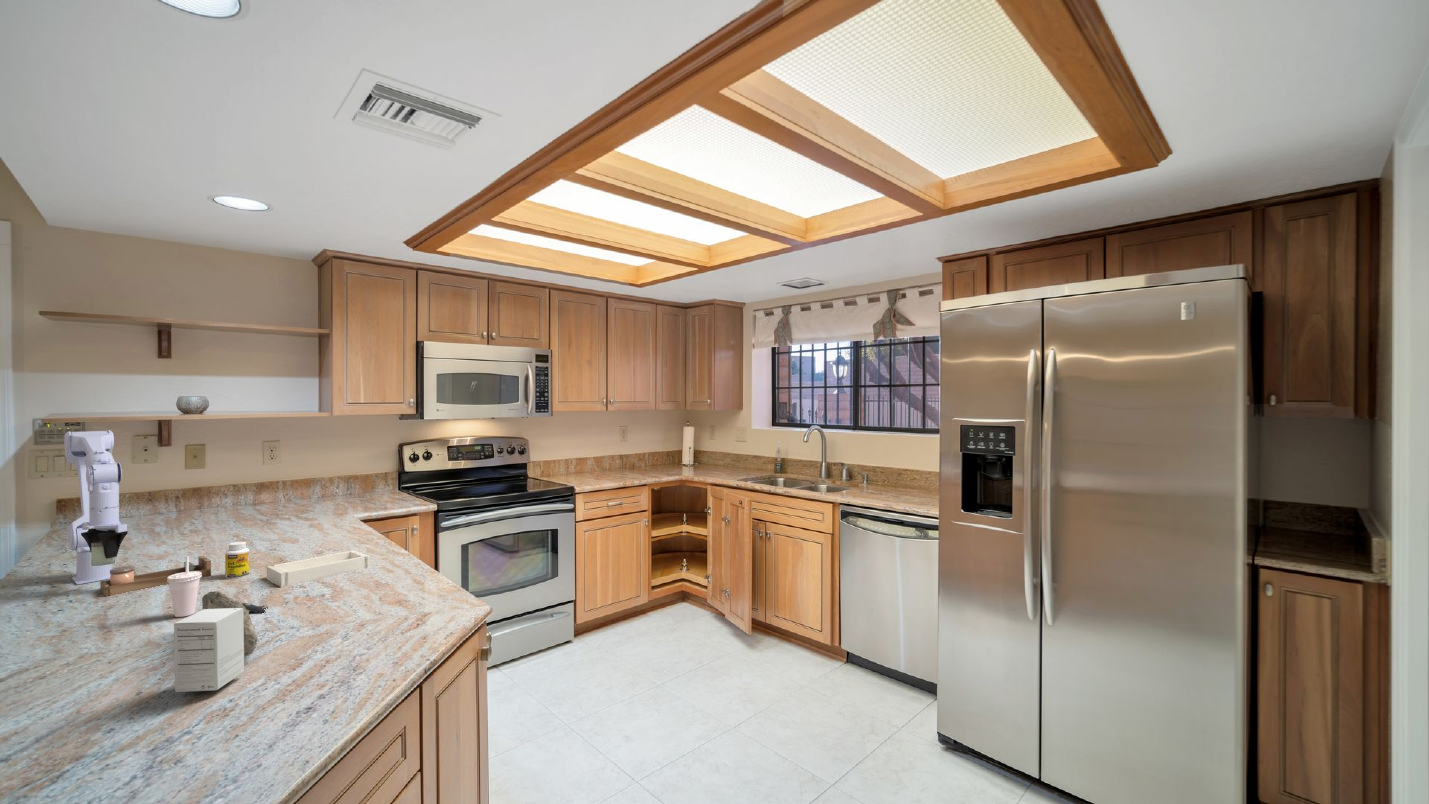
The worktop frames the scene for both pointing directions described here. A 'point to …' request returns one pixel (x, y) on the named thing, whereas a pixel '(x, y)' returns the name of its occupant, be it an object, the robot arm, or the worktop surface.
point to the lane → (153, 579)
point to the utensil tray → (317, 568)
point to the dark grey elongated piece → (254, 608)
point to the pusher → (191, 567)
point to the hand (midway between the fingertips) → (104, 556)
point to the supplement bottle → (237, 561)
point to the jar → (99, 555)
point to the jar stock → (121, 575)
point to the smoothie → (184, 591)
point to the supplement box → (208, 649)
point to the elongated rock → (222, 601)
